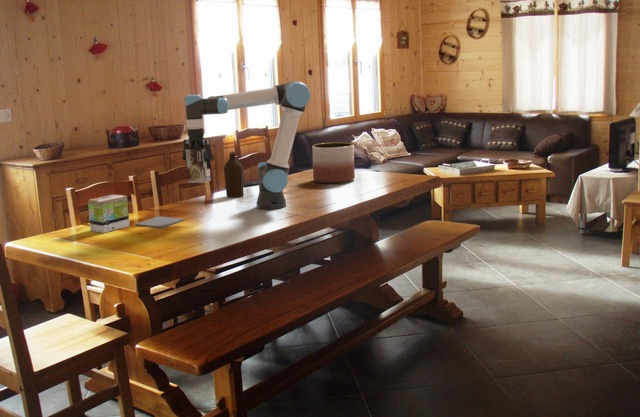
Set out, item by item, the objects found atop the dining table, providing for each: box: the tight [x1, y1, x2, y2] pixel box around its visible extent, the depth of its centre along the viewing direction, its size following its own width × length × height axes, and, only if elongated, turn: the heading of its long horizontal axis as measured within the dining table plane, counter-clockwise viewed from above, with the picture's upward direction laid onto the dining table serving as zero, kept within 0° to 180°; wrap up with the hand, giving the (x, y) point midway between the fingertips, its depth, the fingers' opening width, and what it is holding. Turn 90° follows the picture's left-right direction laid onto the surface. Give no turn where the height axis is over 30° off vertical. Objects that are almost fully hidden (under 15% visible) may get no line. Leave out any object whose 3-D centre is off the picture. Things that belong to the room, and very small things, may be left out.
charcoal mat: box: [135, 216, 186, 229], centre depth 319 cm, size 16×16×1 cm
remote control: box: [224, 180, 259, 189], centre depth 409 cm, size 8×32×2 cm, turn 125°
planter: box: [311, 142, 356, 185], centre depth 410 cm, size 25×25×22 cm
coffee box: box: [185, 148, 212, 184], centre depth 320 cm, size 9×6×16 cm
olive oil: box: [223, 150, 245, 199], centre depth 373 cm, size 11×11×25 cm
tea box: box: [87, 194, 130, 234], centre depth 310 cm, size 15×10×15 cm
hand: (199, 175), depth 321 cm, fingers closed on coffee box, 10 cm apart
